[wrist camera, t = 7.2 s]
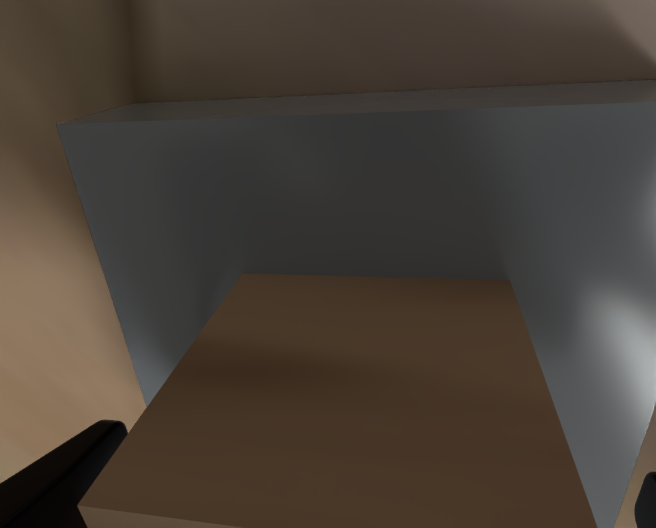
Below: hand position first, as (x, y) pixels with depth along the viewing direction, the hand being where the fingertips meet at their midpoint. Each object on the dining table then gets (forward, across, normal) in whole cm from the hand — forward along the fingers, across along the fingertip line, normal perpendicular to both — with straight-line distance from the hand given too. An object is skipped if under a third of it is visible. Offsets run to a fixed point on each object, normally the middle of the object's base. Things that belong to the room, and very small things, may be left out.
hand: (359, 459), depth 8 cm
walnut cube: (+2, 0, 0) cm, 2 cm away
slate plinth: (+4, 0, 0) cm, 4 cm away
